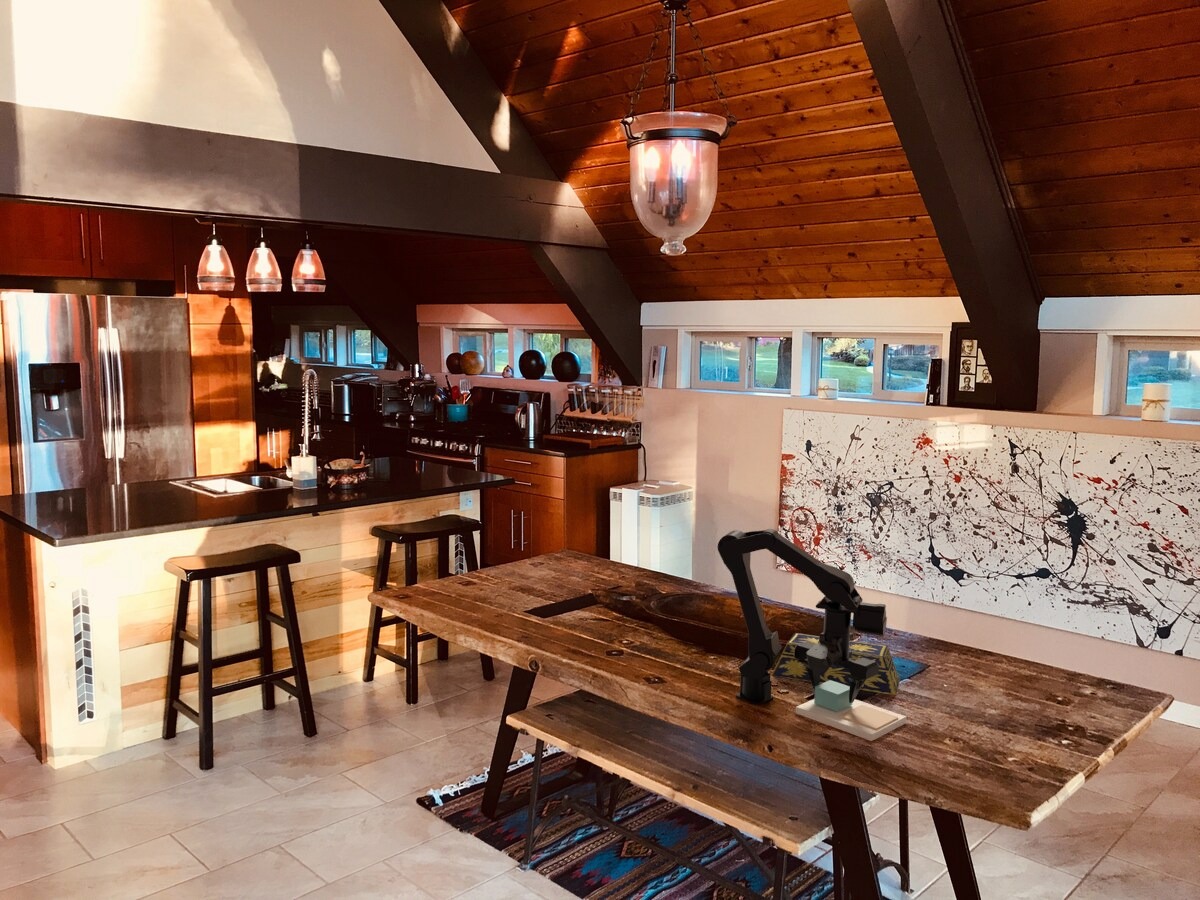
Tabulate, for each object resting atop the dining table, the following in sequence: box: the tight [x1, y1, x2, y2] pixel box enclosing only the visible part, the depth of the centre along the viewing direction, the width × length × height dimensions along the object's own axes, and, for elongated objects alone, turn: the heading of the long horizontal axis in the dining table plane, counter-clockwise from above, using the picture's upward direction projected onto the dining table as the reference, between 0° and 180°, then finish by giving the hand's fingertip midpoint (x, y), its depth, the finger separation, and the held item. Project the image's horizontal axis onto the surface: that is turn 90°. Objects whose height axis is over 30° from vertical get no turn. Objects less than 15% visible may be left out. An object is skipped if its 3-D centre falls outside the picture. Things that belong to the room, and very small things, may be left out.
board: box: [795, 698, 907, 742], centre depth 210 cm, size 19×14×5 cm
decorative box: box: [771, 632, 901, 696], centre depth 234 cm, size 11×30×9 cm, turn 68°
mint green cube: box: [813, 680, 852, 712], centre depth 213 cm, size 6×6×4 cm
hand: (833, 696), depth 213 cm, fingers open, 9 cm apart
